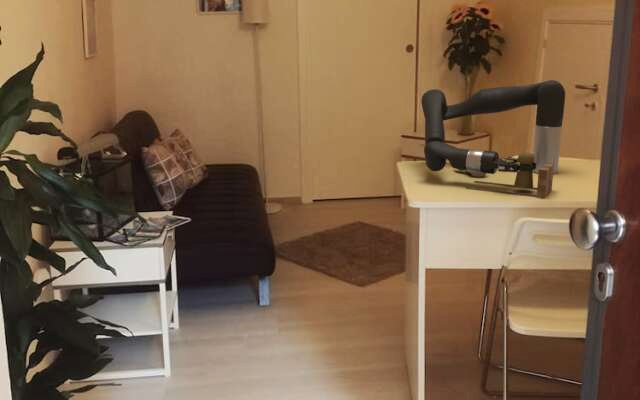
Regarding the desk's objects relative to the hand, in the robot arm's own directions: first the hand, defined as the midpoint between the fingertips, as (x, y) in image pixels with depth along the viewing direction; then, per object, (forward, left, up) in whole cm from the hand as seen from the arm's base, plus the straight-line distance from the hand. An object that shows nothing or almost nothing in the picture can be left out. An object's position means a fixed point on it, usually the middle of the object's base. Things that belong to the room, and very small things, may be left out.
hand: (534, 167), depth 230 cm
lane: (0, -9, -8) cm, 12 cm away
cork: (0, -3, -7) cm, 7 cm away
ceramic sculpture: (-18, -25, -9) cm, 32 cm away
